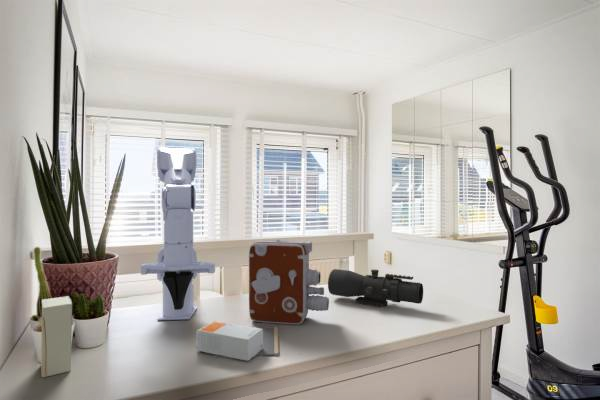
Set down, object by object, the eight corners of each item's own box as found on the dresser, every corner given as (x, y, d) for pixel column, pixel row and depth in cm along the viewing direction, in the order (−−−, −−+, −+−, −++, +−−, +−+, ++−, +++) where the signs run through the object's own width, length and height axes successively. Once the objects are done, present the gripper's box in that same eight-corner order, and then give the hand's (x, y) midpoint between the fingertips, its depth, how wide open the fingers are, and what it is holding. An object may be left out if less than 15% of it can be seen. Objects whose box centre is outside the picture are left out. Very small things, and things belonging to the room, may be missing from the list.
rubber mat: (225, 330, 82) (225, 328, 82) (277, 329, 83) (277, 327, 83) (215, 357, 68) (215, 355, 68) (278, 355, 69) (278, 352, 69)
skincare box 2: (213, 320, 76) (263, 328, 72) (213, 339, 76) (263, 349, 72) (195, 329, 70) (248, 339, 66) (195, 351, 70) (248, 362, 66)
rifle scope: (416, 318, 91) (416, 278, 91) (325, 302, 105) (325, 268, 104) (425, 307, 100) (425, 271, 100) (340, 294, 113) (340, 263, 113)
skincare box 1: (40, 365, 65) (40, 299, 65) (69, 358, 68) (69, 295, 68) (41, 379, 60) (41, 307, 60) (72, 371, 63) (72, 302, 63)
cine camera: (325, 329, 83) (325, 243, 83) (246, 323, 87) (246, 241, 87) (329, 316, 92) (329, 239, 92) (258, 312, 96) (257, 237, 96)
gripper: (135, 245, 69) (135, 315, 69) (211, 244, 70) (211, 313, 70) (147, 241, 76) (147, 304, 76) (216, 240, 77) (216, 302, 77)
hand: (178, 308), depth 74 cm, fingers closed
